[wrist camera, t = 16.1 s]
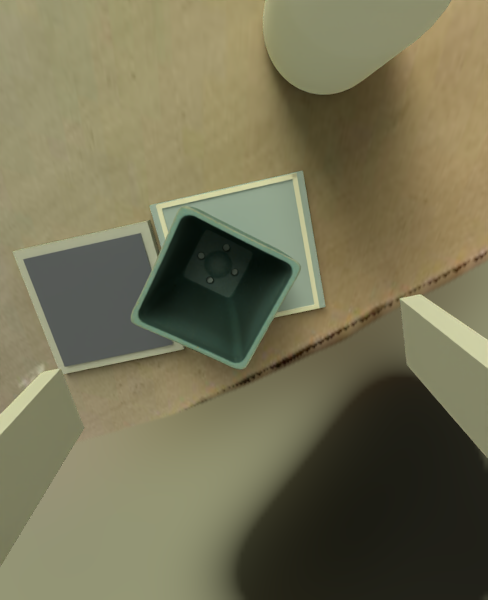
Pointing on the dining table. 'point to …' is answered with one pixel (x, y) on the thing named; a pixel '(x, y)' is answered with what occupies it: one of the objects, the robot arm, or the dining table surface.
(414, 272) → the dining table surface
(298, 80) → the wine bottle
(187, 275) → the flower pot
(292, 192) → the board
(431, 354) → the robot arm
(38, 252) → the ink pad
